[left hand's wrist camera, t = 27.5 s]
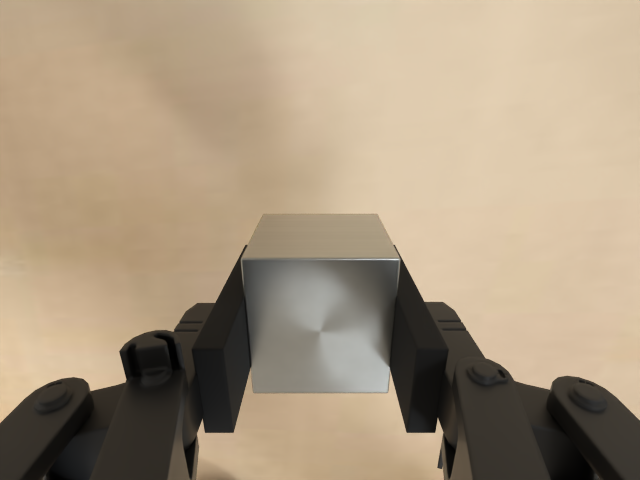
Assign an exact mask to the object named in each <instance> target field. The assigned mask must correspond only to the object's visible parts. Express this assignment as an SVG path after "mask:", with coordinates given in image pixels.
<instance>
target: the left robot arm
mask: <svg viewBox="0 0 640 480" xmlns="http://www.w3.org/2000/svg"><path fill="white" fill-rule="evenodd" d="M247 246H248V245H245V247H244V249H243V251H242V253H241V255H240V257H239V259H238V261H237V263H236V264H235V266H234V268H233V270H232V272H231V274H230V276H229V278H228V280H227V282H226V284H225V286H224V287H223V289H222V291H221V293H220V295H219V297H218V299H217V301H216V303H197V304H196V305H194V306H193V307H192V308H190V309H189V310H187V311H186V312H185V314H184V315H183V317H182V319H181V320H180V323H179V324H178V325H177V326H176V328H175V329H174V332H171V331H168V330H156V331H151V332H147V333H144V334H141V335H139V336H137V337H134V338H133V339H131V340H130V341H129V342H127V343H126V344H125V345H124V346H123V347H122V349H121V350H120V351H119V352H120V356H121V360H122V364H123V367H124V371H125V375H126V379H127V380H126V383H123V384H119V385H116V386H111V387H107V388H103V389H98V390H94V391H90V388H89V385H88V383H87V382H86V381H85V380H84V379H81V378H75V377H72V378H64V379H60V380H57V381H54V382H51V383H48V384H46V385H44V386H43V387H41V388H39V389H37V390H35V391H34V392H33V393H31V394H30V395H29V396H28V397H26V398H25V399H24V400H23V401H22V402H21V403H20V404H19V405H18V406H17V407H16V408H15V409H14V410H13V411H12V412H11V413H10V414H9V415H8V416H7V417H6V418H5V419H4V420H3V421H2V422H1V423H0V480H196V474H197V463H198V452H199V445H198V438H197V432H198V429H199V426H200V424H201V421H202V418H203V423H204V429H205V433H234V429H235V425H236V421H237V417H238V413H239V410H240V406H241V402H242V398H243V394H244V391H245V387H246V383H247V379H248V375H249V371H250V368H251V365H250V354H249V343H248V332H247V321H246V311H245V300H244V290H243V279H242V268H241V257H242V255H243V254H244V252H245V250H246V248H247ZM394 247H395V245H394ZM395 249H396V247H395ZM396 251H397V253H398V255H399V257H400V269H399V280H398V291H397V296H396V306H395V317H394V328H393V339H392V350H391V361H390V370H391V374H392V378H393V382H394V386H395V390H396V393H397V397H398V401H399V405H400V409H401V413H402V416H403V420H404V424H405V428H406V432H407V433H435V431H436V425H437V418H438V419H439V421H440V424H441V427H442V429H443V432H444V433H443V438H442V444H441V450H440V455H439V461H438V468H440V469H442V466H443V473H444V480H640V420H639V419H638V418H637V417H636V416H635V415H634V414H632V413H631V412H630V411H629V410H628V409H627V408H626V407H625V406H624V405H623V404H622V403H621V402H620V401H619V400H618V399H617V398H616V397H615V396H614V395H613V394H611V393H610V392H609V391H608V390H606V389H605V388H603V387H601V386H599V385H597V384H595V383H594V382H591V381H588V380H585V379H582V378H579V377H572V376H564V377H558V378H557V379H556V380H554V381H553V382H552V386H551V389H550V390H548V389H544V388H539V387H535V386H531V385H526V384H523V383H519V382H516V381H514V380H513V378H512V376H511V375H510V373H509V372H508V371H507V370H506V369H505V368H503V367H502V366H501V365H500V364H498V363H495V362H493V361H491V360H489V359H485V357H484V355H483V354H482V352H481V351H480V349H479V348H478V346H477V345H476V343H475V342H474V340H473V338H472V337H471V335H470V334H469V332H468V331H466V328H465V326H464V324H463V323H462V322H461V320H460V318H459V317H458V315H457V314H456V312H455V311H454V310H453V309H452V308H450V307H449V306H448V305H446V304H445V303H444V302H424V300H423V298H422V297H421V295H420V293H419V291H418V289H417V287H416V285H415V283H414V281H413V279H412V277H411V275H410V274H409V272H408V270H407V268H406V266H405V264H404V262H403V260H402V258H401V256H400V254H399V252H398V250H397V249H396Z"/></svg>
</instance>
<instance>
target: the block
mask: <svg viewBox="0 0 640 480" xmlns="http://www.w3.org/2000/svg"><path fill="white" fill-rule="evenodd" d="M241 268H242V279H243V290H244V300H245V311H246V321H247V332H248V343H249V354H250V365H251V376H252V387H253V393H388V390H389V379H390V361H391V350H392V339H393V328H394V317H395V306H396V296H397V291H398V280H399V269H400V257H399V255H398V253H397V251H396V249H395V247H394V245H393V243H392V241H391V239H390V238H389V236H388V234H387V232H386V230H385V228H384V226H383V224H382V222H381V220H380V218H379V216H378V214H263V216H262V218H261V220H260V222H259V224H258V226H257V228H256V230H255V232H254V234H253V236H252V238H251V240H250V242H249V244H248V246H247V248H246V250H245V252H244V254H243V255H242V257H241Z"/></svg>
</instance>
